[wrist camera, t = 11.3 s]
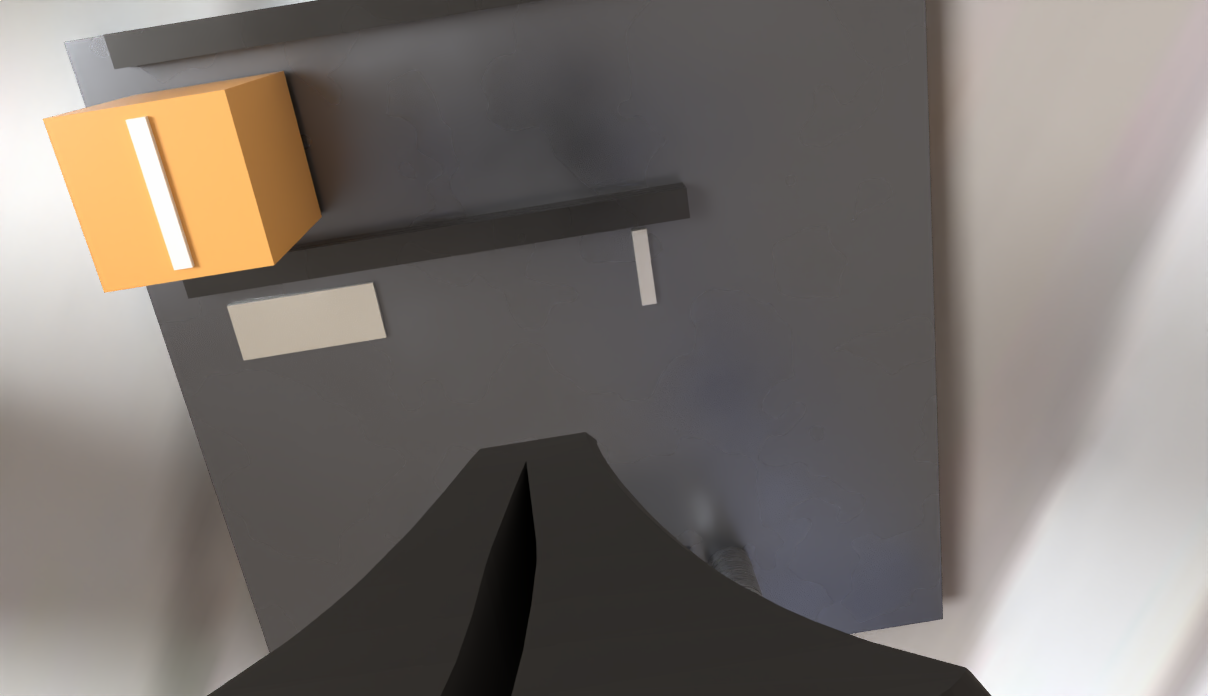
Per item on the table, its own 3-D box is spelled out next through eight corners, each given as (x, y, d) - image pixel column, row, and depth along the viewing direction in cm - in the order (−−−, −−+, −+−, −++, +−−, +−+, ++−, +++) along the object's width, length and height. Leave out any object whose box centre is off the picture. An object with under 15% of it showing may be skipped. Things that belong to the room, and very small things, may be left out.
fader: (322, 217, 19) (272, 266, 15) (181, 239, 19) (101, 294, 16) (283, 70, 18) (222, 90, 14) (135, 95, 18) (39, 119, 15)
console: (927, 594, 24) (1018, 739, 20) (303, 694, 24) (244, 862, 20) (903, -93, 19) (1023, -120, 14) (88, 39, 19) (-67, 56, 14)
